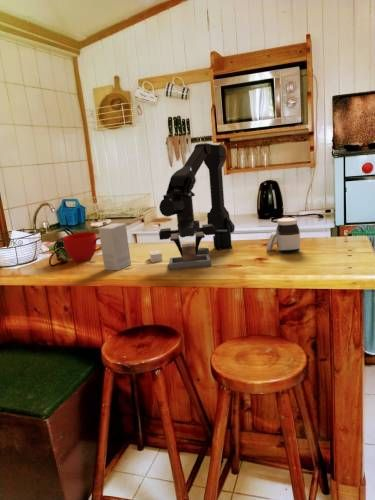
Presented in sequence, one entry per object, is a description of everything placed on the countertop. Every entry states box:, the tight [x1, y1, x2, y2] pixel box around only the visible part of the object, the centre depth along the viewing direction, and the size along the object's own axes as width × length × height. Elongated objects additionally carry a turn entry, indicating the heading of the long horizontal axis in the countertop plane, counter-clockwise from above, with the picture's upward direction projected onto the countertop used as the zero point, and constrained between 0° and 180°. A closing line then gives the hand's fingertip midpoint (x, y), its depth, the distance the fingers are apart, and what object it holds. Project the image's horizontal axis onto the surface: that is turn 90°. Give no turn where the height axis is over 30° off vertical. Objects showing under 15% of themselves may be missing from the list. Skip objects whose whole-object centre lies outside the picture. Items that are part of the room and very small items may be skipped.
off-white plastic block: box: [149, 249, 163, 263], centre depth 151 cm, size 4×6×3 cm, turn 10°
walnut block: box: [181, 242, 196, 261], centre depth 139 cm, size 4×4×5 cm
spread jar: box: [266, 217, 301, 255], centre depth 144 cm, size 12×11×12 cm
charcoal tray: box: [168, 253, 212, 271], centre depth 140 cm, size 14×9×2 cm, turn 91°
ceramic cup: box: [62, 231, 102, 263], centre depth 161 cm, size 13×17×10 cm
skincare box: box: [98, 222, 132, 271], centre depth 144 cm, size 8×7×16 cm
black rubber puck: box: [197, 247, 211, 258], centre depth 148 cm, size 5×5×3 cm
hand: (189, 256), depth 139 cm, fingers closed on walnut block, 4 cm apart
